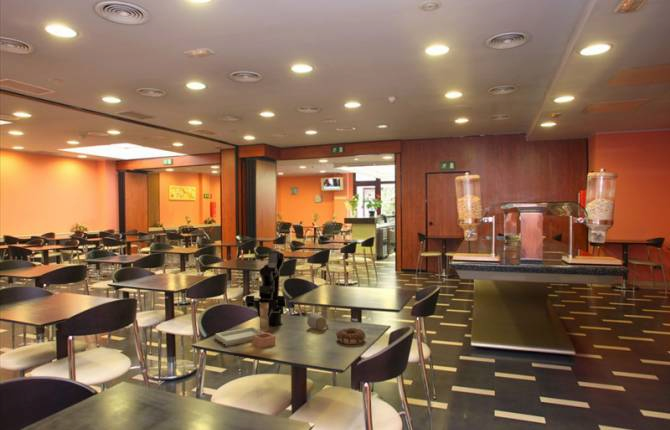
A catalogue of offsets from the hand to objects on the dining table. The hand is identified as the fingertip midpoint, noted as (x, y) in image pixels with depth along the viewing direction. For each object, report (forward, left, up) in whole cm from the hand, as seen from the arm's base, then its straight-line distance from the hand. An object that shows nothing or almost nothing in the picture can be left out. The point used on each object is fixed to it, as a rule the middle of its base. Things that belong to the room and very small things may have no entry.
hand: (263, 316), depth 194 cm
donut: (-37, +18, -14) cm, 43 cm away
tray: (+4, -16, -13) cm, 21 cm away
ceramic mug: (-36, -8, -13) cm, 40 cm away
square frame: (-1, -1, -13) cm, 13 cm away
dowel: (-1, -1, -7) cm, 7 cm away
